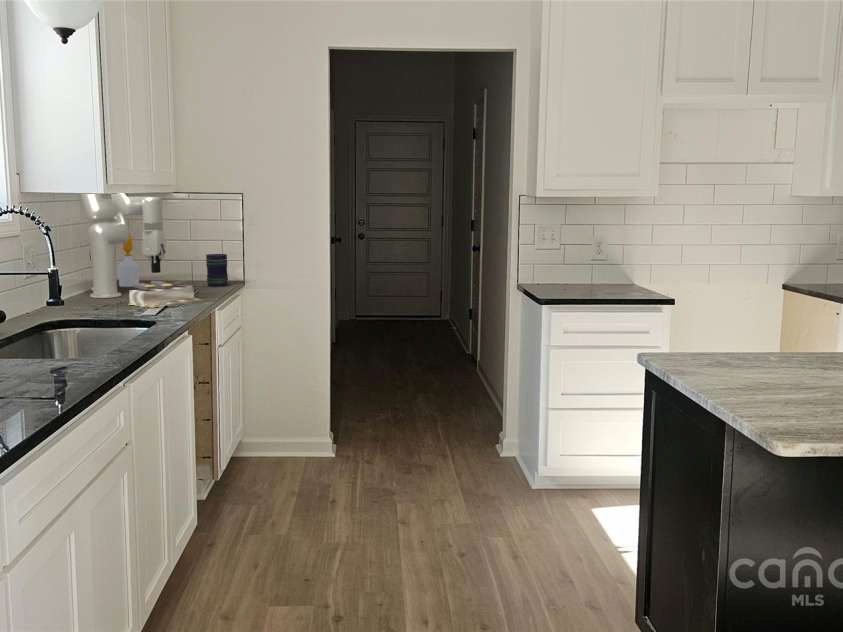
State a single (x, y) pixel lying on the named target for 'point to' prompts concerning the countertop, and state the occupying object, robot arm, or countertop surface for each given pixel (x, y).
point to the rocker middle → (161, 284)
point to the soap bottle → (128, 267)
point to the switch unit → (163, 296)
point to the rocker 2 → (179, 282)
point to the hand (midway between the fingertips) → (156, 272)
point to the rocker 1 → (144, 286)
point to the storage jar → (217, 270)
